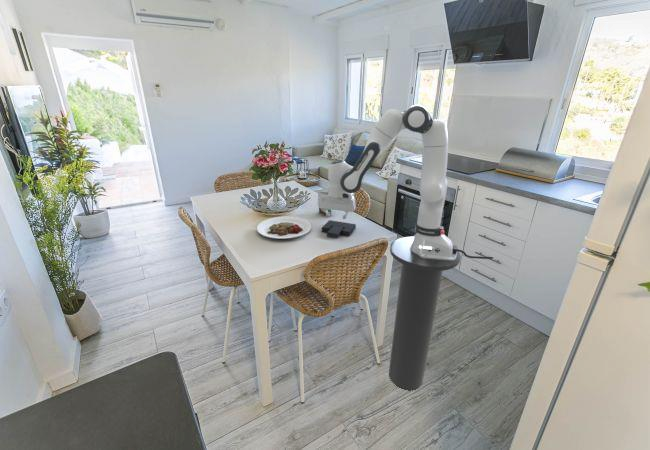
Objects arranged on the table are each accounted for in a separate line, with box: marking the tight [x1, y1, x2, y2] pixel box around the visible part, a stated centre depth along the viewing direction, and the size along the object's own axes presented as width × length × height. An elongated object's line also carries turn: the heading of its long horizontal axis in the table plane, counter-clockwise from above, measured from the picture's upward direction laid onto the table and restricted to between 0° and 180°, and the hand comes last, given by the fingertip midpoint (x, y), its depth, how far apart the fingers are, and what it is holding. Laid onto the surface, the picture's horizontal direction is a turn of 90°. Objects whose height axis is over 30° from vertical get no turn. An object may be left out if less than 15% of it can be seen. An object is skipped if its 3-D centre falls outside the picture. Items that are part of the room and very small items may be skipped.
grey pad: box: [326, 226, 343, 239], centre depth 170 cm, size 6×10×2 cm, turn 158°
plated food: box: [256, 215, 312, 240], centre depth 174 cm, size 30×30×3 cm
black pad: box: [321, 219, 357, 237], centre depth 176 cm, size 16×12×2 cm
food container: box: [317, 197, 332, 218], centre depth 198 cm, size 12×6×10 cm, turn 34°
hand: (336, 217), depth 167 cm, fingers open, 8 cm apart
